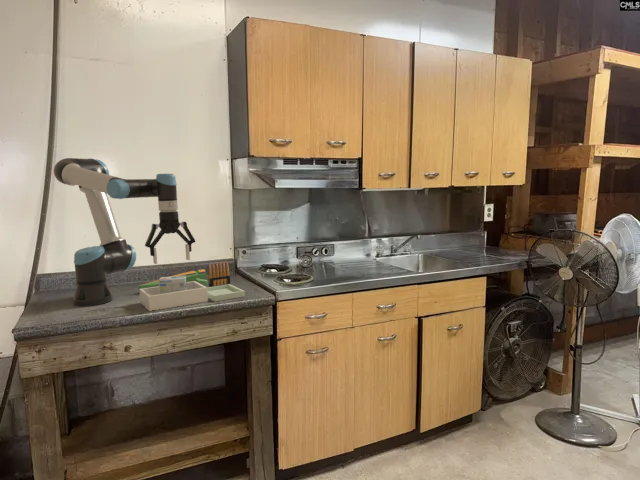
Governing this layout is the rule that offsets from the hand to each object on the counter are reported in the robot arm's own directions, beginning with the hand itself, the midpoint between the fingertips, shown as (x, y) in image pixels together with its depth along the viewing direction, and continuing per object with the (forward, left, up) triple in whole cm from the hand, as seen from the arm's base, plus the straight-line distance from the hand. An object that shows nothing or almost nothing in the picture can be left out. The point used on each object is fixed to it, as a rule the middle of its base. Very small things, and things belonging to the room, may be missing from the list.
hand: (172, 261), depth 188 cm
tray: (+21, -2, -18) cm, 27 cm away
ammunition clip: (+26, +14, -18) cm, 34 cm away
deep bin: (0, 0, -18) cm, 18 cm away
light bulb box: (0, 0, -18) cm, 18 cm away
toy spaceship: (+7, +26, -18) cm, 32 cm away
